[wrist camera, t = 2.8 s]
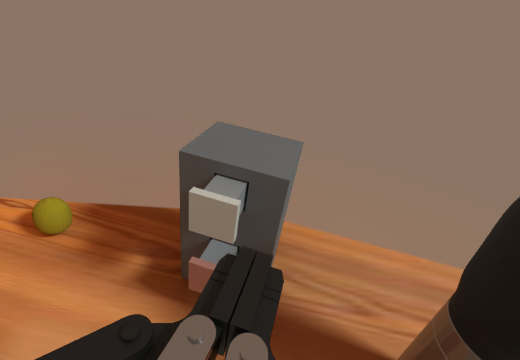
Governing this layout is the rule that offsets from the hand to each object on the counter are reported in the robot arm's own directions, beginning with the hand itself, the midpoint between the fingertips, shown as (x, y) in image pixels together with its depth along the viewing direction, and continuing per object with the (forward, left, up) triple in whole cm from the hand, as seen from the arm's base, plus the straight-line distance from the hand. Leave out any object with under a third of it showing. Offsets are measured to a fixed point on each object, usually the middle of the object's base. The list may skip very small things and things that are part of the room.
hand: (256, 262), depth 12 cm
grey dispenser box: (+21, -14, -30) cm, 39 cm away
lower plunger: (+17, -8, -24) cm, 30 cm away
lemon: (+42, +11, -30) cm, 53 cm away
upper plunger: (+17, -8, -13) cm, 22 cm away
